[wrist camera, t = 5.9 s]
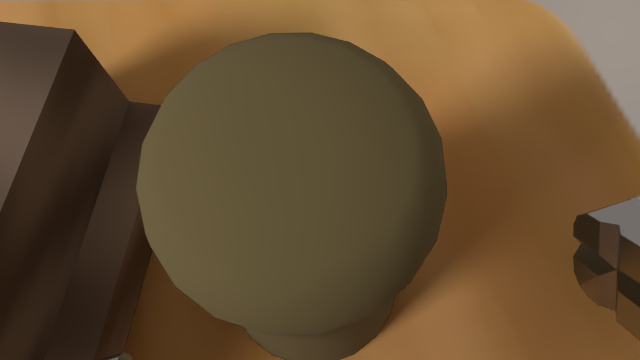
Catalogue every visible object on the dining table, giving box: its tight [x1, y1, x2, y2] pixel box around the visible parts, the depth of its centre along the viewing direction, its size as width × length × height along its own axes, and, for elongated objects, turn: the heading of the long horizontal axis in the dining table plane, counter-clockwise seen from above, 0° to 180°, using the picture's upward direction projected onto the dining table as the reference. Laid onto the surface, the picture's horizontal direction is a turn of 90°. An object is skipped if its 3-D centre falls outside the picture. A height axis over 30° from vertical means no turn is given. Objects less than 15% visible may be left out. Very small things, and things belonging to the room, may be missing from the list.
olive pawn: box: [136, 33, 447, 360], centre depth 12 cm, size 6×6×11 cm
